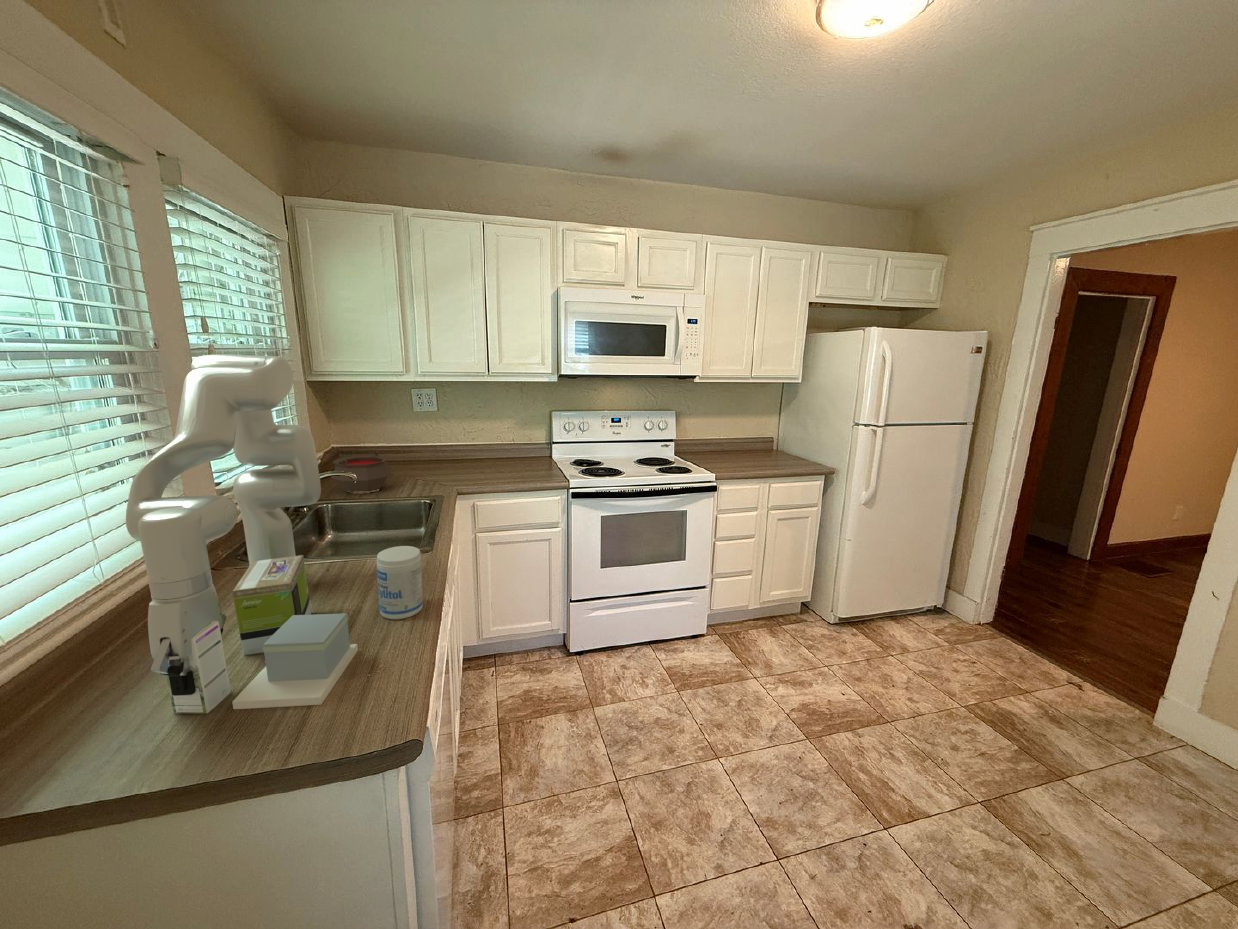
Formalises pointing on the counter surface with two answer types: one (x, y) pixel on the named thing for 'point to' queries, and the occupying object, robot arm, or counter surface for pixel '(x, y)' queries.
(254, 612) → the tea box
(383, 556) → the supplement tub
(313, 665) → the stand
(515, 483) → the counter surface
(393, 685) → the counter surface
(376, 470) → the dark round pot
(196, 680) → the syrup box
